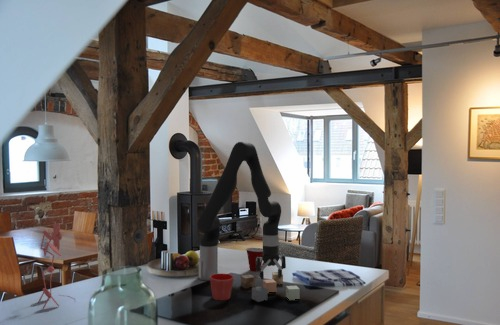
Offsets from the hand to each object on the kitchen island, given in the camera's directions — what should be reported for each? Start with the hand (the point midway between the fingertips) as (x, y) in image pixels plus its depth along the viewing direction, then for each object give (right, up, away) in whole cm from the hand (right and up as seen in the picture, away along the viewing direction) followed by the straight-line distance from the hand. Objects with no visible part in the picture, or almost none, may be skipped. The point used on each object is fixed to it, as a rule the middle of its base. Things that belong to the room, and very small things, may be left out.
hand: (270, 278), depth 225 cm
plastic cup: (-7, -5, +38) cm, 39 cm away
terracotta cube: (-1, -6, 0) cm, 6 cm away
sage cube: (+9, -7, -9) cm, 15 cm away
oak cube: (+4, -6, +14) cm, 16 cm away
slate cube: (-6, -7, -12) cm, 14 cm away
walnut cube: (-11, -6, +8) cm, 15 cm away
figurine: (-93, -6, -19) cm, 95 cm away
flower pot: (-23, -7, -10) cm, 26 cm away
